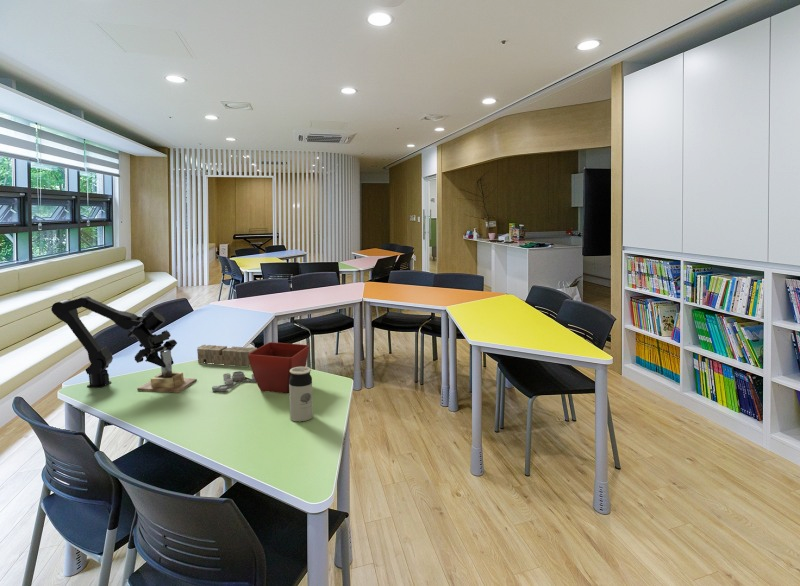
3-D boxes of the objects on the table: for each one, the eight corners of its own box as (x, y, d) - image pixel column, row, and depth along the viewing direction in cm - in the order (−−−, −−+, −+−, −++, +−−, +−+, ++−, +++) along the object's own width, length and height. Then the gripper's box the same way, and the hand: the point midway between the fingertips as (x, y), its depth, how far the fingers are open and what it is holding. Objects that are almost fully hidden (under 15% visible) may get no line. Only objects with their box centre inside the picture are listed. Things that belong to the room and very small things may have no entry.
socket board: (137, 390, 193) (136, 380, 193) (158, 379, 207) (157, 369, 206) (178, 392, 192) (177, 382, 191) (196, 380, 205) (196, 371, 205)
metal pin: (160, 382, 197) (158, 352, 195) (165, 379, 201) (163, 349, 199) (169, 382, 197) (167, 352, 195) (174, 379, 201) (172, 350, 199)
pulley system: (204, 386, 202) (215, 394, 190) (204, 375, 201) (214, 383, 190) (265, 376, 219) (279, 383, 207) (265, 366, 218) (278, 372, 206)
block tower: (195, 365, 230) (250, 367, 225) (194, 348, 229) (249, 350, 223) (205, 360, 238) (258, 362, 232) (203, 344, 237) (257, 346, 231)
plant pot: (292, 398, 187) (291, 357, 185) (248, 393, 191) (246, 354, 188) (310, 382, 206) (310, 344, 203) (270, 378, 210) (269, 342, 207)
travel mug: (288, 415, 171) (286, 367, 168) (309, 411, 174) (308, 365, 172) (292, 423, 164) (291, 374, 161) (315, 420, 167) (314, 371, 164)
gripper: (138, 330, 187) (162, 360, 186) (172, 321, 205) (195, 347, 204) (123, 348, 191) (147, 377, 190) (158, 337, 208) (180, 363, 207)
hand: (169, 365), depth 197 cm, fingers closed on metal pin, 4 cm apart
